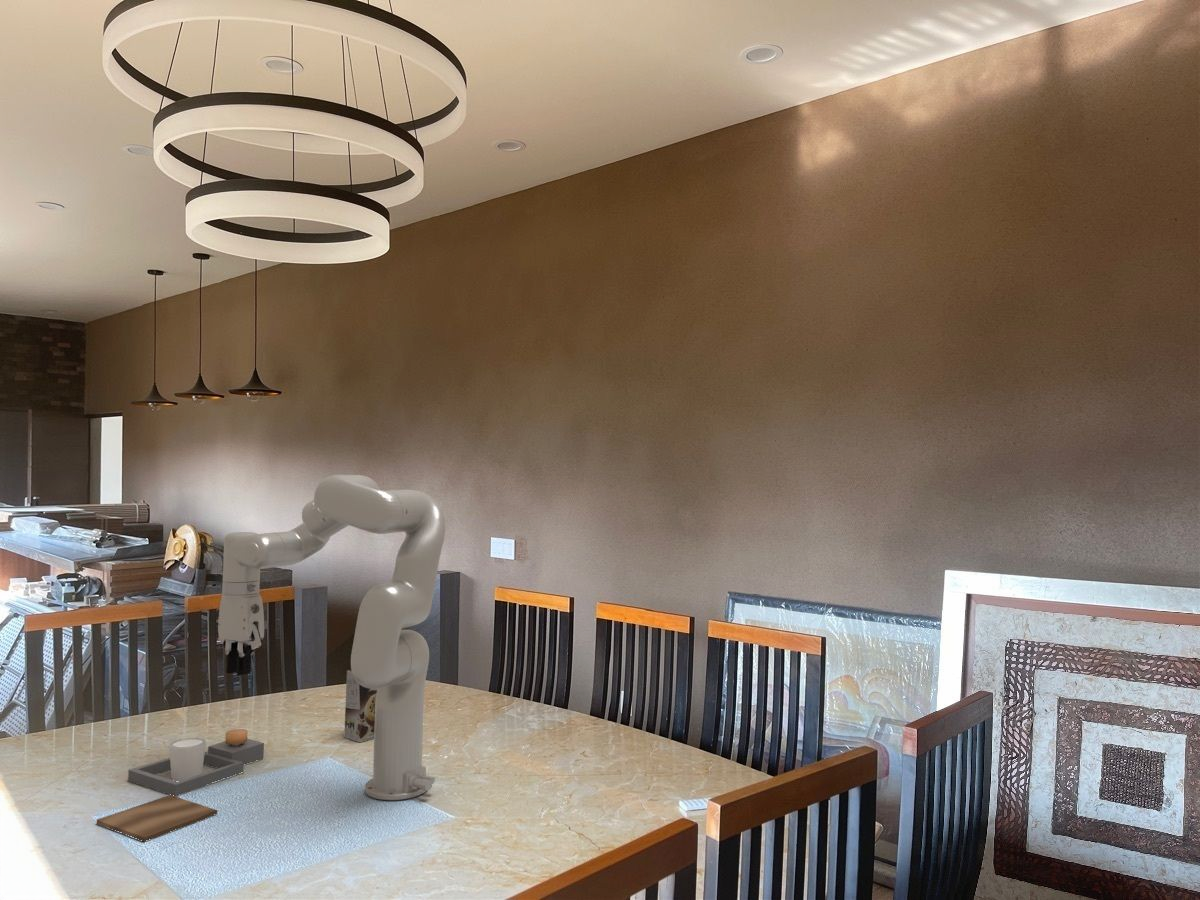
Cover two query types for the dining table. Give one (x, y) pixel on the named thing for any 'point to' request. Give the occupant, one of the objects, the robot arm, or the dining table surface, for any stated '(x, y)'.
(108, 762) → the dining table surface
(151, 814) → the walnut mat
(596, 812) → the dining table surface
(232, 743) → the orange rounded piece
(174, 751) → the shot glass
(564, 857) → the dining table surface
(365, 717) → the coffee box
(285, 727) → the dining table surface
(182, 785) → the housing
